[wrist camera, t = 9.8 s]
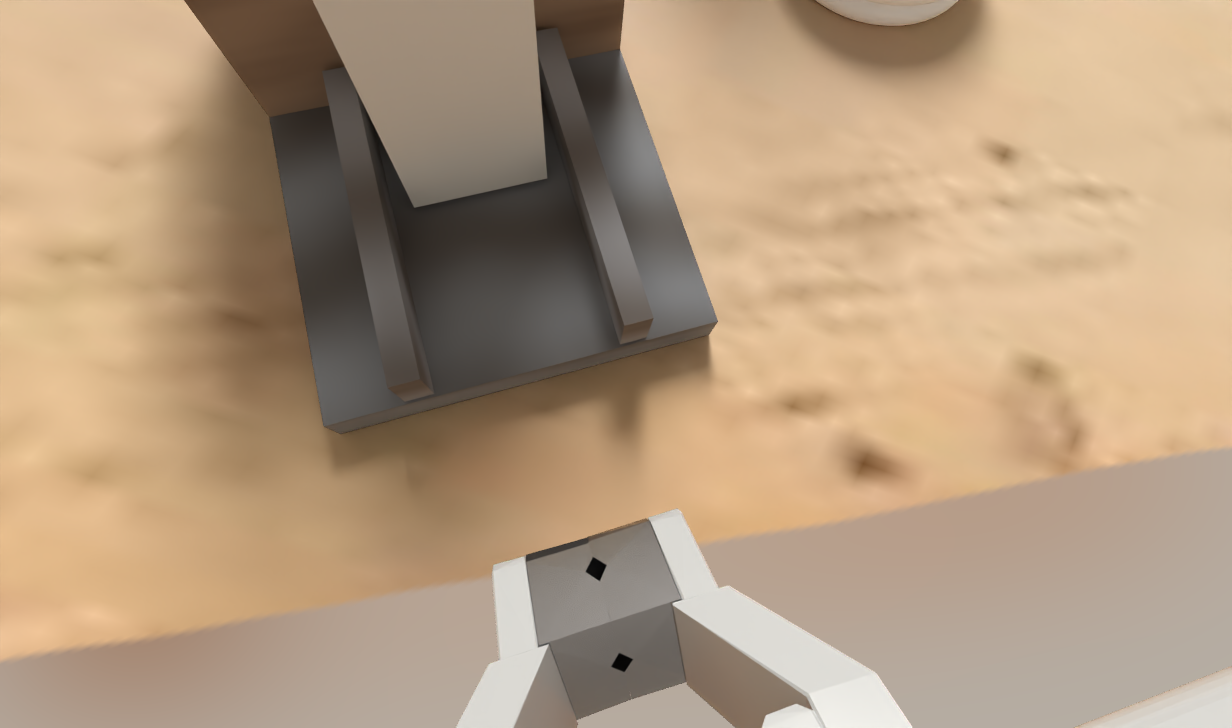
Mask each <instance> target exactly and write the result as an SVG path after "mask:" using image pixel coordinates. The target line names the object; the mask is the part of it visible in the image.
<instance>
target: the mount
mask: <svg viewBox="0 0 1232 728" xmlns="http://www.w3.org/2000/svg"><path fill="white" fill-rule="evenodd" d="M184 1H185V2H186V4H187V5H188V6H189V8H190V9H191V10H192V12H193V13H194V14H195V16H196V17H197V19H198V20H199V21H200V23H201V24H202V25H203V27H204V28H205V30H206V31H207V32H208V34H209V35H210V36H211V38H212V39H213V41H214V42H215V43H216V45H217V46H218V47H219V49H220V50H221V51H222V53H223V54H224V56H225V57H226V58H227V60H228V61H229V62H230V64H231V65H232V67H233V68H234V69H235V71H236V72H237V73H238V75H239V76H240V77H241V79H242V80H243V82H244V83H245V84H246V86H247V87H248V88H249V90H250V91H251V93H252V94H253V95H254V97H255V98H256V99H257V101H258V102H259V104H260V105H261V106H262V108H263V109H264V110H265V112H266V113H267V114H268V116H269V118H270V123H271V129H272V135H273V140H274V146H275V152H276V158H277V163H278V169H279V175H280V180H281V186H282V192H283V198H284V203H285V209H286V215H287V220H288V226H289V232H290V237H291V243H292V249H293V255H294V260H295V266H296V272H297V277H298V283H299V289H300V294H301V300H302V306H303V312H304V317H305V323H306V329H307V334H308V340H309V346H310V352H311V357H312V363H313V369H314V374H315V380H316V386H317V391H318V397H319V403H320V409H321V414H322V420H323V426H324V427H326V428H328V429H331V430H333V431H335V432H338V433H340V434H342V433H345V432H349V431H353V430H357V429H360V428H364V427H368V426H371V425H375V424H379V423H383V422H386V421H390V420H394V419H397V418H401V417H405V416H409V415H412V414H416V413H420V412H423V411H427V410H431V409H435V408H438V407H442V406H446V405H449V404H453V403H457V402H461V401H464V400H468V399H472V398H475V397H479V396H483V395H487V394H490V393H494V392H498V391H501V390H505V389H509V388H513V387H516V386H520V385H524V384H527V383H531V382H535V381H539V380H542V379H546V378H550V377H553V376H557V375H561V374H565V373H568V372H572V371H576V370H579V369H583V368H587V367H591V366H594V365H598V364H602V363H605V362H609V361H613V360H617V359H620V358H624V357H628V356H631V355H635V354H639V353H643V352H646V351H650V350H654V349H657V348H661V347H665V346H669V345H672V344H676V343H680V342H683V341H687V340H691V339H695V338H698V337H702V336H706V335H709V334H710V332H711V331H712V329H713V328H714V326H715V325H716V324H717V322H718V320H717V317H716V315H715V312H714V309H713V306H712V303H711V301H710V298H709V295H708V292H707V290H706V287H705V284H704V281H703V278H702V276H701V273H700V270H699V267H698V265H697V262H696V259H695V256H694V253H693V251H692V248H691V245H690V242H689V240H688V237H687V234H686V231H685V229H684V226H683V223H682V220H681V217H680V215H679V212H678V209H677V206H676V204H675V201H674V198H673V195H672V192H671V190H670V187H669V184H668V181H667V179H666V176H665V173H664V170H663V168H662V165H661V162H660V159H659V156H658V154H657V151H656V148H655V145H654V143H653V140H652V137H651V134H650V131H649V129H648V126H647V123H646V120H645V118H644V115H643V112H642V109H641V106H640V104H639V101H638V98H637V95H636V93H635V90H634V87H633V84H632V82H631V79H630V76H629V73H628V70H627V68H626V65H625V62H624V59H623V57H622V54H621V51H620V42H621V31H622V20H623V9H624V0H534V13H535V26H536V39H537V52H538V65H539V78H540V91H541V104H542V117H543V130H544V143H545V156H546V169H547V179H542V180H538V181H533V182H529V183H524V184H520V185H515V186H511V187H506V188H502V189H497V190H493V191H488V192H484V193H479V194H475V195H470V196H466V197H461V198H457V199H452V200H448V201H443V202H439V203H434V204H429V205H425V206H420V207H416V208H414V206H413V204H412V202H411V200H410V198H409V196H408V194H407V192H406V190H405V188H404V186H403V184H402V182H401V180H400V178H399V176H398V174H397V172H396V170H395V168H394V166H393V163H392V161H391V159H390V157H389V155H388V153H387V151H386V149H385V147H384V145H383V143H382V141H381V139H380V137H379V135H378V133H377V131H376V129H375V127H374V125H373V123H372V121H371V119H370V117H369V114H368V112H367V110H366V108H365V106H364V104H363V102H362V100H361V98H360V96H359V94H358V92H357V90H356V88H355V86H354V84H353V82H352V80H351V78H350V76H349V74H348V72H347V70H346V68H345V65H344V63H343V61H342V59H341V57H340V55H339V53H338V51H337V49H336V47H335V45H334V43H333V41H332V39H331V37H330V35H329V33H328V31H327V29H326V27H325V25H324V23H323V21H322V19H321V17H320V14H319V12H318V10H317V8H316V6H315V4H314V2H313V0H184Z"/></svg>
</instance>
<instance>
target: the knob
mask: <svg viewBox="0 0 1232 728" xmlns="http://www.w3.org/2000/svg"><path fill="white" fill-rule="evenodd" d="M313 2H314V4H315V6H316V8H317V10H318V12H319V14H320V17H321V19H322V21H323V23H324V25H325V27H326V29H327V31H328V33H329V35H330V37H331V39H332V41H333V43H334V45H335V47H336V49H337V51H338V53H339V55H340V57H341V59H342V61H343V63H344V65H345V68H346V70H347V72H348V74H349V76H350V78H351V80H352V82H353V84H354V86H355V88H356V90H357V92H358V94H359V96H360V98H361V100H362V102H363V104H364V106H365V108H366V110H367V112H368V114H369V117H370V119H371V121H372V123H373V125H374V127H375V129H376V131H377V133H378V135H379V137H380V139H381V141H382V143H383V145H384V147H385V149H386V151H387V153H388V155H389V157H390V159H391V161H392V163H393V166H394V168H395V170H396V172H397V174H398V176H399V178H400V180H401V182H402V184H403V186H404V188H405V190H406V192H407V194H408V196H409V198H410V200H411V202H412V204H413V206H414V208H416V207H420V206H425V205H429V204H434V203H439V202H443V201H448V200H452V199H457V198H461V197H466V196H470V195H475V194H479V193H484V192H488V191H493V190H497V189H502V188H506V187H511V186H515V185H520V184H524V183H529V182H533V181H538V180H542V179H547V169H546V156H545V143H544V130H543V117H542V104H541V91H540V78H539V65H538V52H537V39H536V26H535V13H534V0H313Z"/></svg>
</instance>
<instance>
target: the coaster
mask: <svg viewBox="0 0 1232 728" xmlns="http://www.w3.org/2000/svg"><path fill="white" fill-rule="evenodd" d="M815 1H817V2H818V3H820V4H821V5H823V6H824V7H826V8H828V9H830V10H832V11H833V12H835V13H837V14H840V15H842V16H844V17H847V18H850V19H853V20H856V21H859V22H864V23H868V24H874V25H884V26H903V25H911V24H916V23H920V22H924V21H927V20H929V19H932V18H934V17H937V16H938V15H940V14H942V13H943V12H945V11H947V10H948V9H949V8H950V7H952V6H953V5H954V4H955V3H956V2H958V1H959V0H815Z"/></svg>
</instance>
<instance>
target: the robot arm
mask: <svg viewBox="0 0 1232 728" xmlns="http://www.w3.org/2000/svg"><path fill="white" fill-rule="evenodd" d="M492 584H493V597H494V608H495V621H496V634H497V647H498V661H495V662H492V663H490V664H488V666H487V668H486V670H485V672H484V674H483V675H482V677H481V680H480V681H479V683H478V685H477V687H476V689H475V691H474V693H473V695H472V697H471V699H470V701H469V703H468V704H467V706H466V708H465V710H464V712H463V714H462V716H461V718H460V720H459V722H458V724H457V726H456V728H577V725H578V723H577V720H578V719H581V718H583V717H586V716H589V715H591V714H594V713H596V712H599V711H602V710H604V709H607V708H610V707H612V706H615V705H618V704H620V703H623V702H626V701H628V700H631V699H634V698H637V697H640V696H643V695H647V694H650V693H653V692H656V691H659V690H663V689H666V688H669V687H672V686H675V685H678V684H682V683H684V682H687V685H688V686H689V687H690V688H691V689H693V691H695V692H696V693H697V694H698V695H699V696H700V697H701V698H703V699H704V700H705V701H706V702H707V703H708V704H709V705H710V706H712V707H713V708H714V709H715V710H716V711H717V712H718V713H720V714H721V715H722V716H723V717H724V718H725V719H726V720H727V721H728V722H730V723H731V724H732V725H733V726H734V727H735V728H913V727H912V726H911V724H910V723H909V721H908V720H907V718H906V717H905V715H904V714H903V712H902V711H901V709H900V708H899V706H898V705H897V703H896V702H895V701H894V699H893V697H892V696H891V694H890V693H889V692H888V690H887V688H886V687H885V685H884V684H883V682H882V681H881V680H880V678H879V676H878V675H877V674H876V673H875V672H874V671H872V670H870V669H868V668H867V667H865V666H864V665H862V664H860V663H859V662H857V661H855V660H853V659H852V658H850V657H848V656H847V655H845V654H843V653H842V652H840V651H838V650H837V649H835V648H833V647H832V646H830V645H828V644H827V643H825V642H823V641H822V640H820V639H818V638H816V637H815V636H813V635H811V634H810V633H808V632H806V631H805V630H803V629H801V628H800V627H798V626H796V625H795V624H793V623H791V622H789V621H788V620H786V619H784V618H783V617H781V616H779V615H778V614H776V613H774V612H773V611H771V610H769V609H767V608H766V607H764V606H762V605H761V604H759V603H757V602H756V601H754V600H752V599H751V598H749V597H747V596H746V595H744V594H742V593H740V592H739V591H737V590H736V589H734V588H732V587H730V586H729V585H727V586H724V587H721V588H719V587H718V585H717V583H716V581H715V579H714V577H713V575H712V573H711V571H710V569H709V567H708V565H707V563H706V561H705V559H704V557H703V555H702V553H701V551H700V549H699V547H698V544H697V542H696V540H695V538H694V536H693V534H692V532H691V530H690V528H689V526H688V524H687V522H686V520H685V518H684V516H683V514H682V512H681V511H680V510H678V509H674V510H671V511H668V512H665V513H661V514H658V515H655V516H652V517H649V518H648V520H647V519H646V518H645V519H642V520H639V521H636V522H633V523H630V524H627V525H624V526H620V527H617V528H614V529H611V530H608V531H605V532H602V533H598V534H595V535H592V536H589V537H587V538H585V539H581V540H577V541H574V542H570V543H567V544H563V545H560V546H556V547H553V548H549V549H545V550H542V551H538V552H535V553H531V554H528V555H526V556H523V557H519V558H516V559H512V560H509V561H505V562H502V563H498V564H494V565H493V570H492ZM630 694H631V695H630ZM1074 728H1232V666H1231V667H1228V668H1226V669H1223V670H1221V671H1218V672H1216V673H1213V674H1210V675H1208V676H1205V677H1202V678H1200V679H1197V680H1195V681H1192V682H1190V683H1187V684H1185V685H1182V686H1179V687H1177V688H1174V689H1172V690H1169V691H1167V692H1164V693H1161V694H1159V695H1156V696H1154V697H1151V698H1148V699H1146V700H1143V701H1141V702H1138V703H1136V704H1133V705H1131V706H1128V707H1125V708H1123V709H1120V710H1118V711H1115V712H1113V713H1110V714H1107V715H1105V716H1102V717H1100V718H1097V719H1095V720H1092V721H1090V722H1087V723H1084V724H1082V725H1079V726H1077V727H1074Z"/></svg>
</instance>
